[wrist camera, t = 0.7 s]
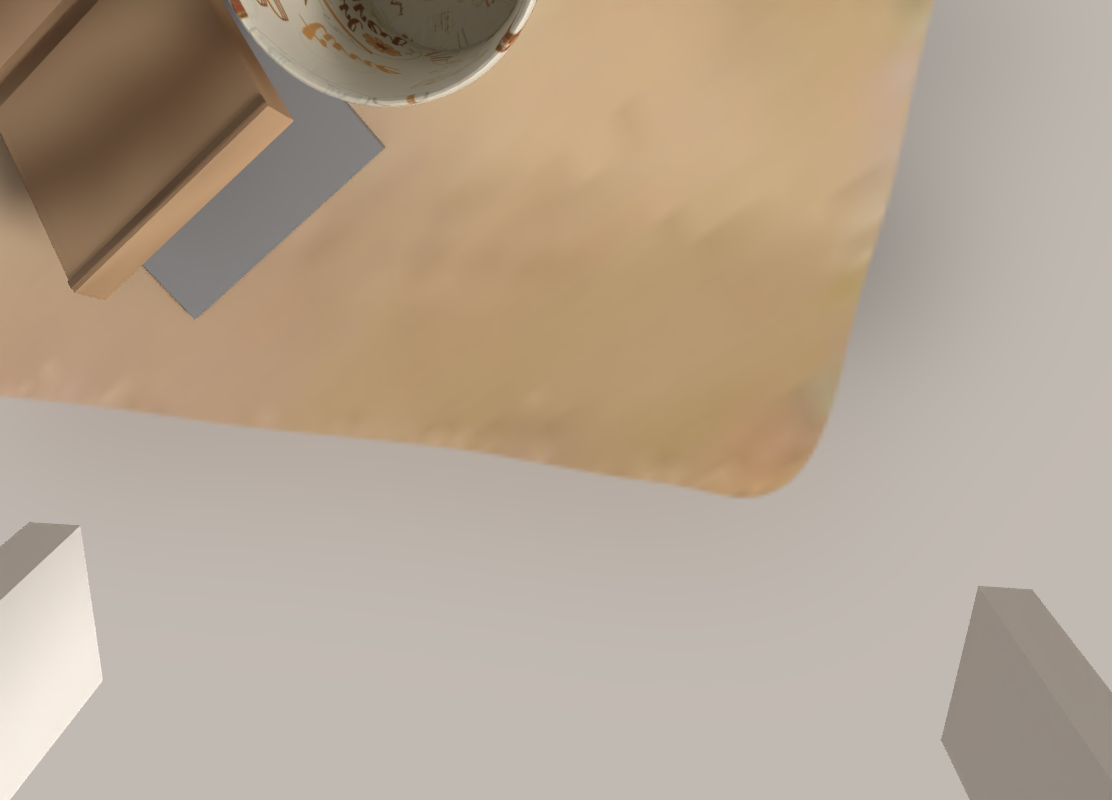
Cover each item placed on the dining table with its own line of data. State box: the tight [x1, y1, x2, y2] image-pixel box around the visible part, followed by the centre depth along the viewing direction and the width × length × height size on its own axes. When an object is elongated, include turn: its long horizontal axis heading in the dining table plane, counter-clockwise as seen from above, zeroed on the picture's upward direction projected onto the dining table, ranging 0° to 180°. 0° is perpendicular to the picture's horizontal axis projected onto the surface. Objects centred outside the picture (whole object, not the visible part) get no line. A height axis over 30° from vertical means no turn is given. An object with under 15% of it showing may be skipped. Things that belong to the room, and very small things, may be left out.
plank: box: [0, 0, 294, 300], centre depth 31 cm, size 8×9×1 cm
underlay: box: [143, 0, 385, 319], centre depth 34 cm, size 16×10×1 cm, turn 40°
